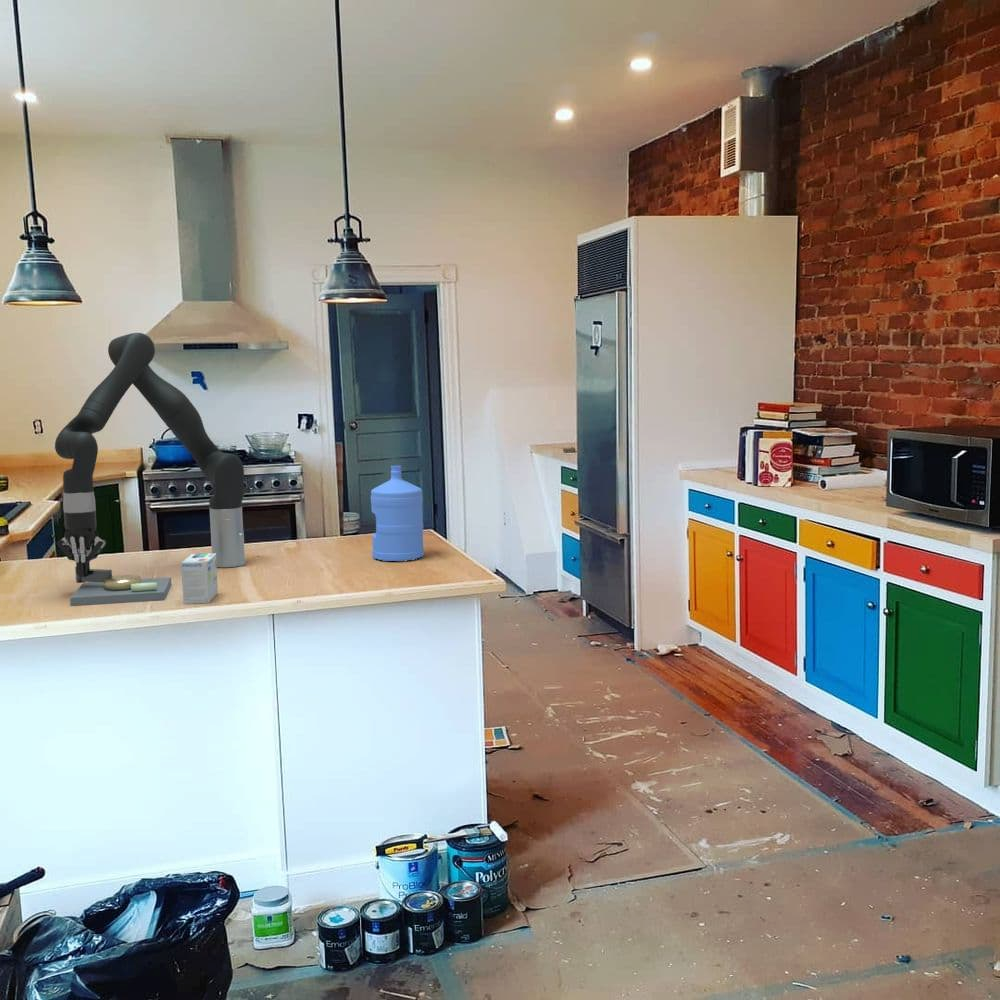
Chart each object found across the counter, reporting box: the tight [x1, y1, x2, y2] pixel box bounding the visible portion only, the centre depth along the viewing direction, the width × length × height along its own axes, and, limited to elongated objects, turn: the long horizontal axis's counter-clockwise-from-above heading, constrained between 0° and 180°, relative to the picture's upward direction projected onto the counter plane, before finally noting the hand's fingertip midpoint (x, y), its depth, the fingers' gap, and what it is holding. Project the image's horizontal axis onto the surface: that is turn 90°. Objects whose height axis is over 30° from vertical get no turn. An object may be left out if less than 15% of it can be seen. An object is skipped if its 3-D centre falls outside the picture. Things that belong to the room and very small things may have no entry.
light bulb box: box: [180, 552, 219, 605], centre depth 244 cm, size 11×7×11 cm, turn 5°
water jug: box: [370, 465, 425, 562], centre depth 293 cm, size 16×16×28 cm
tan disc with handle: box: [74, 566, 142, 590], centre depth 250 cm, size 18×9×5 cm, turn 78°
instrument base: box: [69, 576, 172, 607], centre depth 250 cm, size 22×18×4 cm
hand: (83, 576), depth 249 cm, fingers closed
